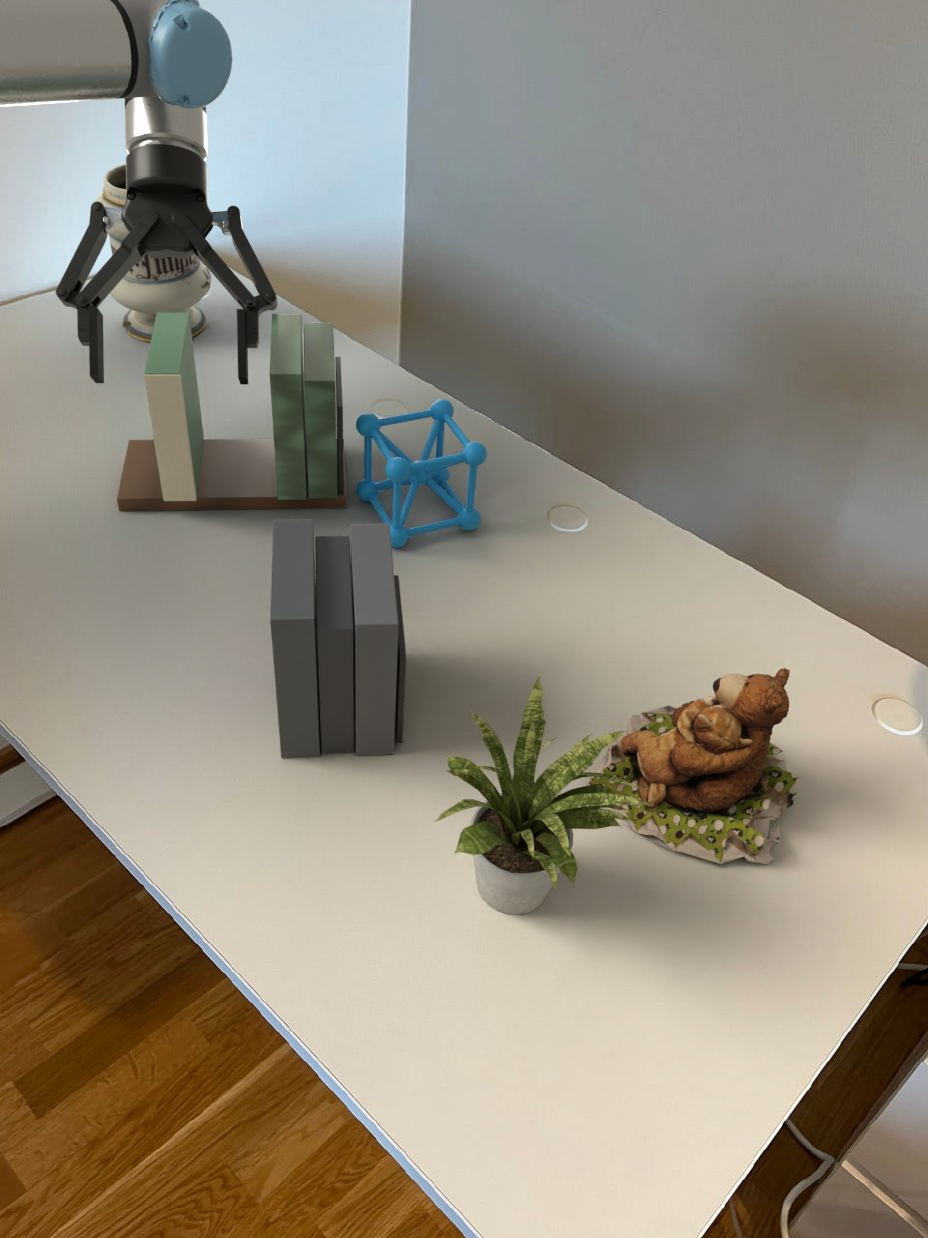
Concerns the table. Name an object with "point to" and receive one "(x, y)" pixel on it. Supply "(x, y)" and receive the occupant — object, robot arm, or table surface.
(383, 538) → the grey books
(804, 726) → the table surface
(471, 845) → the house plant
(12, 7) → the robot arm
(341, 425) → the book shelf
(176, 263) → the apothecary jar
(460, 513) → the molecular structure
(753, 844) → the bear figurine
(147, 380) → the green book
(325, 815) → the table surface
